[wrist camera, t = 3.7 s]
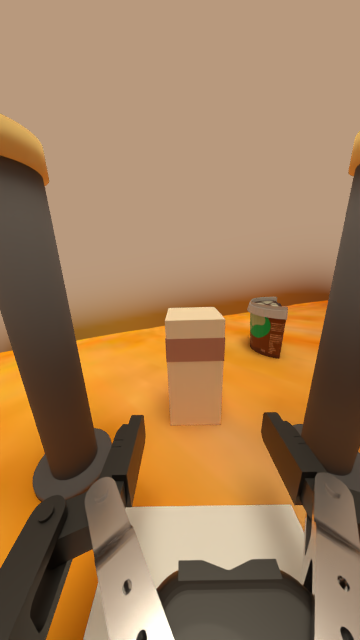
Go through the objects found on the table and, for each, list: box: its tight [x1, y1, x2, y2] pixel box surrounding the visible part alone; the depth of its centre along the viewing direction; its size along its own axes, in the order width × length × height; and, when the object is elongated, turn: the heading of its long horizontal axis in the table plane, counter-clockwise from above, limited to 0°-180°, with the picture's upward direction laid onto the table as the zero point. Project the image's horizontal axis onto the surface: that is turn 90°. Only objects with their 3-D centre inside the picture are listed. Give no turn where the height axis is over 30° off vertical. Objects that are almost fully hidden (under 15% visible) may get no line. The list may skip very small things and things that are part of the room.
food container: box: [248, 297, 288, 358], centre depth 37 cm, size 12×6×10 cm, turn 160°
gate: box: [0, 114, 360, 502], centre depth 13 cm, size 28×6×24 cm, turn 90°
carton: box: [165, 307, 225, 425], centre depth 20 cm, size 6×6×12 cm
